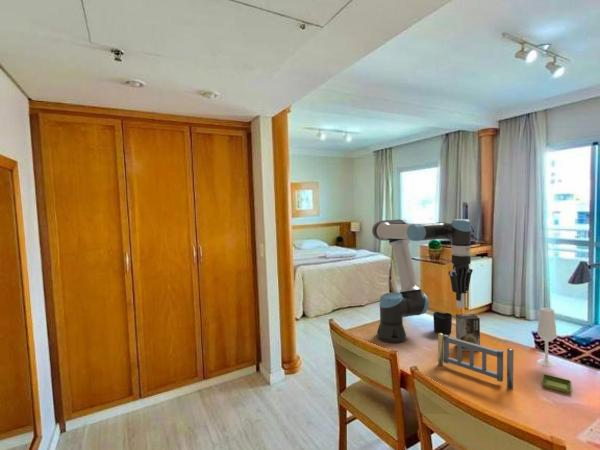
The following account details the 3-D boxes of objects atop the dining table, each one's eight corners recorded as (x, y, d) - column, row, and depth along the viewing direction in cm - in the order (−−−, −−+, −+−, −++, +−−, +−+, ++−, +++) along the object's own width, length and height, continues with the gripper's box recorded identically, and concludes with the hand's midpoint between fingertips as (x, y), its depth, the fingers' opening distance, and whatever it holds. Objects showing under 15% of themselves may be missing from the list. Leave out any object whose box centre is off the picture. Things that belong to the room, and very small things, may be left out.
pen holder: (442, 327, 186) (441, 310, 185) (455, 333, 177) (455, 315, 176) (429, 330, 182) (429, 313, 181) (443, 336, 173) (443, 318, 173)
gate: (503, 380, 127) (503, 350, 126) (501, 382, 126) (501, 352, 125) (445, 360, 144) (445, 334, 143) (443, 362, 143) (443, 335, 142)
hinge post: (506, 387, 125) (506, 349, 124) (507, 385, 126) (508, 347, 125) (512, 389, 123) (512, 351, 122) (513, 387, 125) (514, 349, 124)
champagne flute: (536, 358, 147) (537, 306, 145) (555, 361, 143) (556, 308, 142) (537, 364, 141) (537, 310, 140) (556, 368, 138) (557, 312, 136)
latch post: (437, 364, 143) (437, 333, 143) (439, 363, 145) (439, 332, 144) (442, 366, 142) (441, 335, 141) (443, 364, 143) (443, 333, 143)
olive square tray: (543, 378, 131) (543, 373, 131) (571, 385, 125) (571, 380, 125) (541, 388, 124) (541, 383, 124) (571, 396, 119) (571, 390, 118)
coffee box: (474, 345, 162) (474, 313, 161) (480, 351, 155) (480, 318, 154) (455, 345, 162) (455, 313, 162) (460, 351, 156) (460, 318, 155)
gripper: (458, 257, 136) (457, 312, 138) (478, 254, 141) (477, 307, 143) (443, 254, 142) (442, 307, 144) (463, 252, 148) (462, 302, 150)
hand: (460, 307), depth 144 cm, fingers closed
